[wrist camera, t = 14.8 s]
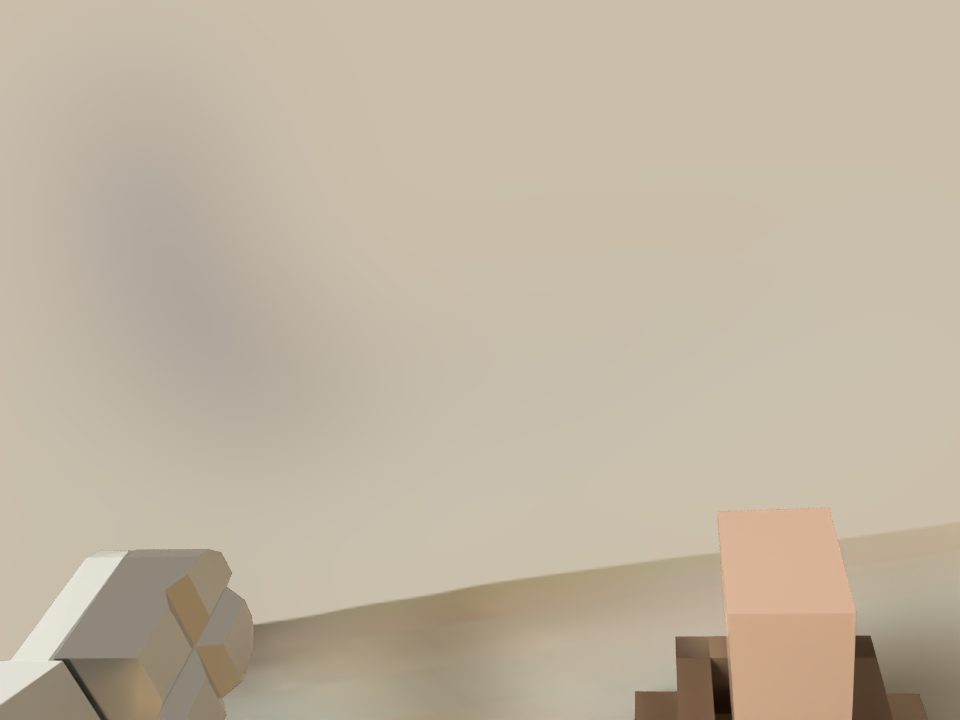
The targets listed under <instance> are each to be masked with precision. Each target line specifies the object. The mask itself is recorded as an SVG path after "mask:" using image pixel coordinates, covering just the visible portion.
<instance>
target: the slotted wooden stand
mask: <svg viewBox="0 0 960 720" xmlns="http://www.w3.org/2000/svg"><path fill="white" fill-rule="evenodd" d="M675 638H676V664H677V691H678V692H640V691H635V720H732V715H731V701H730V687H729V672H728V658H727V644H726V636H714V637H675ZM852 720H927V717H926V714H925V711H924V707H923V704H922V701H921V698H920V694H886V692H885V688H884V684H883V680H882V677H881V673H880V669H879V666H878V662H877V658H876V654H875V651H874V647H873V643H872V640H871V636H855V659H854V683H853V707H852Z"/></svg>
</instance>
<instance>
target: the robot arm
mask: <svg viewBox="0 0 960 720" xmlns="http://www.w3.org/2000/svg"><path fill="white" fill-rule="evenodd" d="M231 574H232V572H231V570H230V568H229V566H228V564H227V562H226V561H225V559H224V557H223V555H222V553H221V552H217V551H213V550H208V549H206V550H205V549H201V550H200V549H196V550H195V549H194V550H135V551H99V552H97V553H95V554H93V555H91V556H89V557H87V558H86V559H85V561H84V562H83V563H82V565H81V566H80V567H79V569H78V570H77V571H76V573H75V574H74V575H73V577H72V578H71V579H70V581H69V582H68V583H67V585H66V586H65V587H64V589H63V590H62V592H61V593H60V594H59V596H58V597H57V598H56V600H55V601H54V602H53V604H52V605H51V606H50V608H49V609H48V610H47V612H46V613H45V614H44V616H43V617H42V618H41V620H40V621H39V622H38V624H37V625H36V626H35V628H34V629H33V630H32V632H31V633H30V635H29V636H28V637H27V639H26V640H25V641H24V643H23V644H22V645H21V647H20V648H19V650H18V651H17V652H16V653H15V655H14V656H13V657H12V659H11V660H9V661H8V660H4V661H0V720H224V719H225V717H226V712H225V708H224V704H223V700H222V698H223V697H224V696H225V695H226V694H227V693H228V692H230V691H231V690H232V689H233V688H234V687H236V686H237V685H238V684H239V683H240V682H242V680H243V677H244V675H245V673H246V670H247V668H248V666H249V663H250V661H251V657H252V649H253V642H254V628H253V622H252V615H251V613H250V611H249V609H248V607H247V604H246V602H245V600H244V599H242V598H241V597H240V596H238V595H237V594H236V593H234V592H233V591H232V590H230V589H229V588H228V587H227V584H228V582H229V579H230V577H231Z"/></svg>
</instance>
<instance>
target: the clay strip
mask: <svg viewBox="0 0 960 720" xmlns="http://www.w3.org/2000/svg"><path fill="white" fill-rule="evenodd" d="M717 514H718V528H719V542H720V557H721V572H722V586H723V600H724V615H725V629H726V644H727V658H728V672H729V687H730V701H731V715H732V720H852V707H853V683H854V659H855V635H856V609H855V606H854V602H853V598H852V594H851V590H850V586H849V582H848V578H847V574H846V570H845V567H844V563H843V559H842V555H841V551H840V547H839V543H838V539H837V535H836V532H835V528H834V524H833V520H832V516H831V512H830V508H801V509H775V510H748V511H719V512H717Z"/></svg>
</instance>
